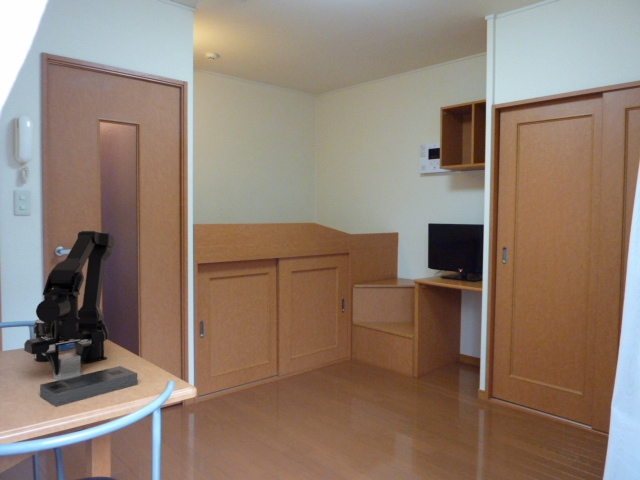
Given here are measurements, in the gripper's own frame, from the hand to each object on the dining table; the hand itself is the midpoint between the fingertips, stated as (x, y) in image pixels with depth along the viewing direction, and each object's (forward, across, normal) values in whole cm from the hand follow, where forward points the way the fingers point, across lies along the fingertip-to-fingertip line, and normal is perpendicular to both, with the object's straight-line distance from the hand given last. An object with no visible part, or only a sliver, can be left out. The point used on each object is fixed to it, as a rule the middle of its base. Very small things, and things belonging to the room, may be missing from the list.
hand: (66, 372), depth 130 cm
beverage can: (+2, -3, -22) cm, 22 cm away
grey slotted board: (+2, 0, +14) cm, 14 cm away
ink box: (+2, -12, -32) cm, 34 cm away
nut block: (+2, 0, 0) cm, 2 cm away
